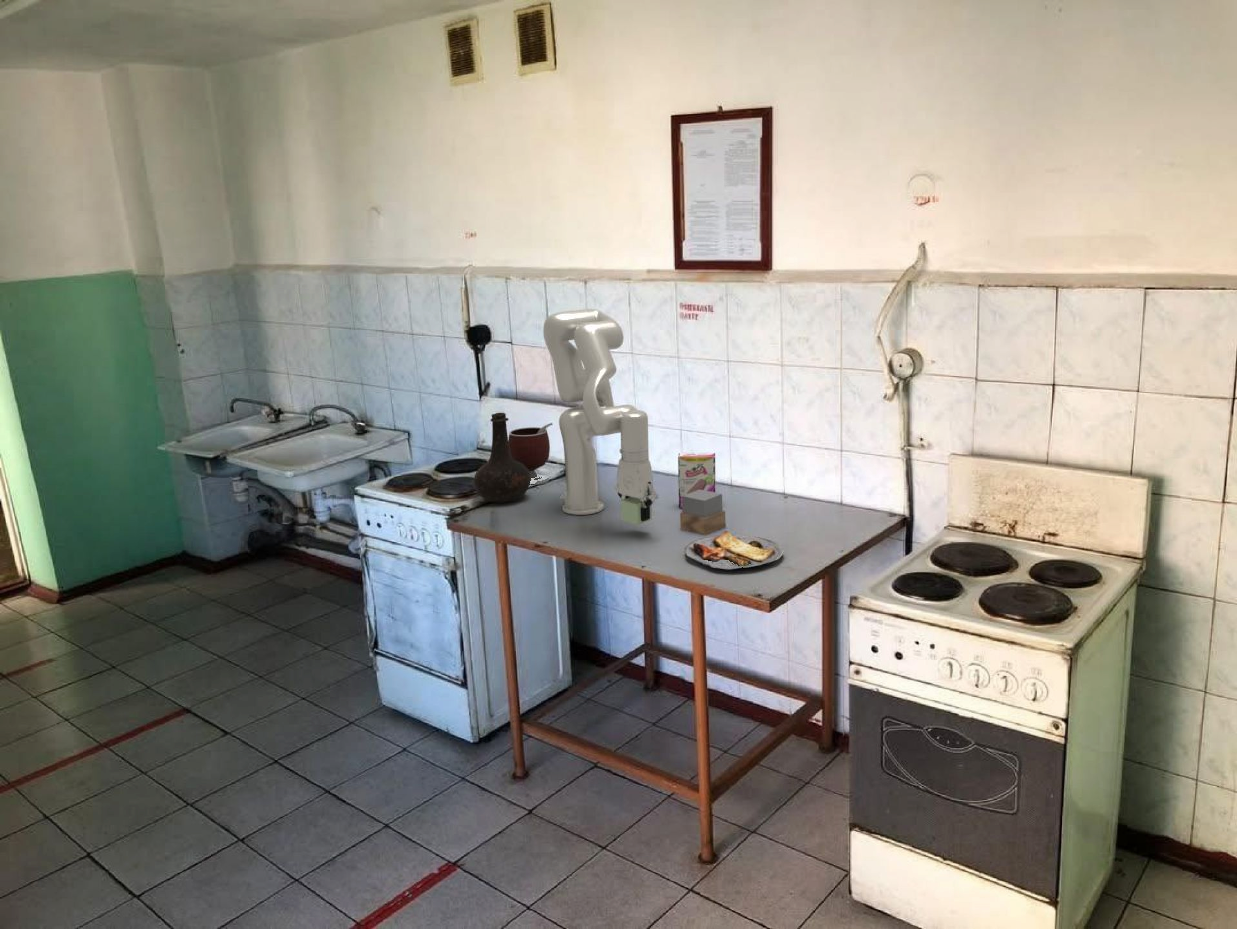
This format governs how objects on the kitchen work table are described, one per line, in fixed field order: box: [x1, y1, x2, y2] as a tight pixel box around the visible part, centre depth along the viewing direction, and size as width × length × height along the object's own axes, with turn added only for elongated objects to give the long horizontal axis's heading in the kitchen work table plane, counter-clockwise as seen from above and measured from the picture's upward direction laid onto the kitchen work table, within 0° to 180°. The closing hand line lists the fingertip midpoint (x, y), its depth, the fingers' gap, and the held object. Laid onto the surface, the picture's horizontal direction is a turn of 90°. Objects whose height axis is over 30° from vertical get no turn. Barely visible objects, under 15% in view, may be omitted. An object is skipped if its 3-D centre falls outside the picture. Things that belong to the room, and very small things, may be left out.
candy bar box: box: [677, 452, 717, 509], centre depth 301 cm, size 11×5×16 cm, turn 84°
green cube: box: [620, 497, 653, 526], centre depth 279 cm, size 6×6×6 cm
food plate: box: [684, 530, 784, 570], centre depth 259 cm, size 25×23×4 cm
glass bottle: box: [473, 412, 531, 504], centre depth 316 cm, size 18×18×28 cm
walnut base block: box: [679, 509, 726, 536], centre depth 282 cm, size 9×9×5 cm
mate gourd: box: [508, 422, 554, 485], centre depth 338 cm, size 16×14×20 cm
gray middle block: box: [681, 489, 723, 518], centre depth 281 cm, size 8×8×5 cm
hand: (636, 517), depth 279 cm, fingers closed on green cube, 6 cm apart
